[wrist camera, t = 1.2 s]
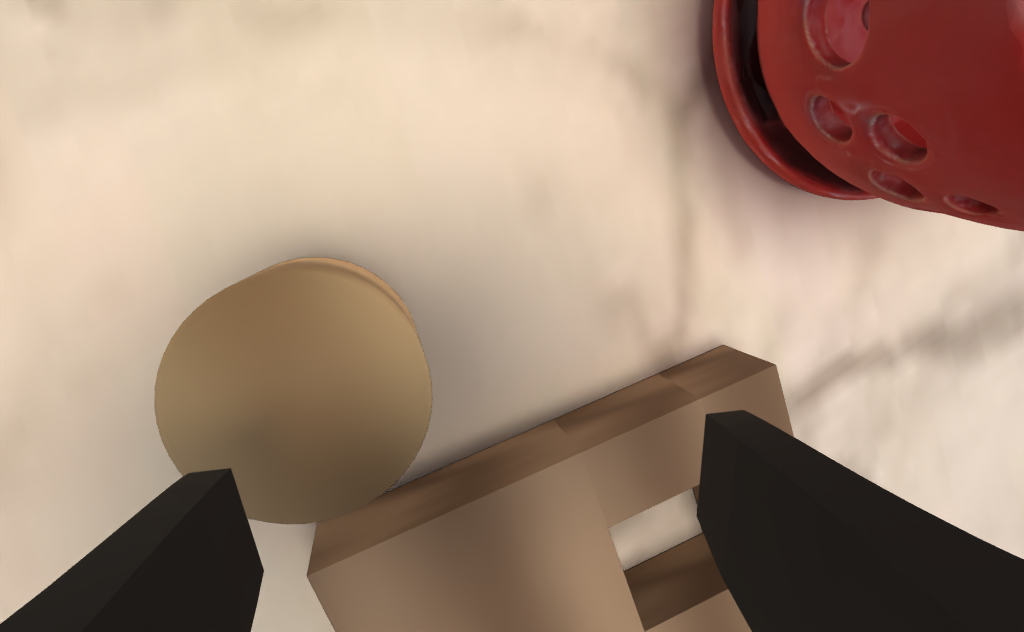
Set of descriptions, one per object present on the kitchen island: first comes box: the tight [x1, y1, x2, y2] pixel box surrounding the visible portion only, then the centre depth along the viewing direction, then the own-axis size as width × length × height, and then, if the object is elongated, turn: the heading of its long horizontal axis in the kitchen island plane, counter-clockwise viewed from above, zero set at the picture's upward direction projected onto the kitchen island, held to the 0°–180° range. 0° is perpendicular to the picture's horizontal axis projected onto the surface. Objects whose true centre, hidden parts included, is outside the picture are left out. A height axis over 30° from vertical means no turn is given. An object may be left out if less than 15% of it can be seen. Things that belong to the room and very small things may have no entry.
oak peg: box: [155, 257, 432, 524], centre depth 15 cm, size 5×5×8 cm
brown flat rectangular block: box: [307, 345, 794, 632], centre depth 21 cm, size 16×10×3 cm, turn 110°
